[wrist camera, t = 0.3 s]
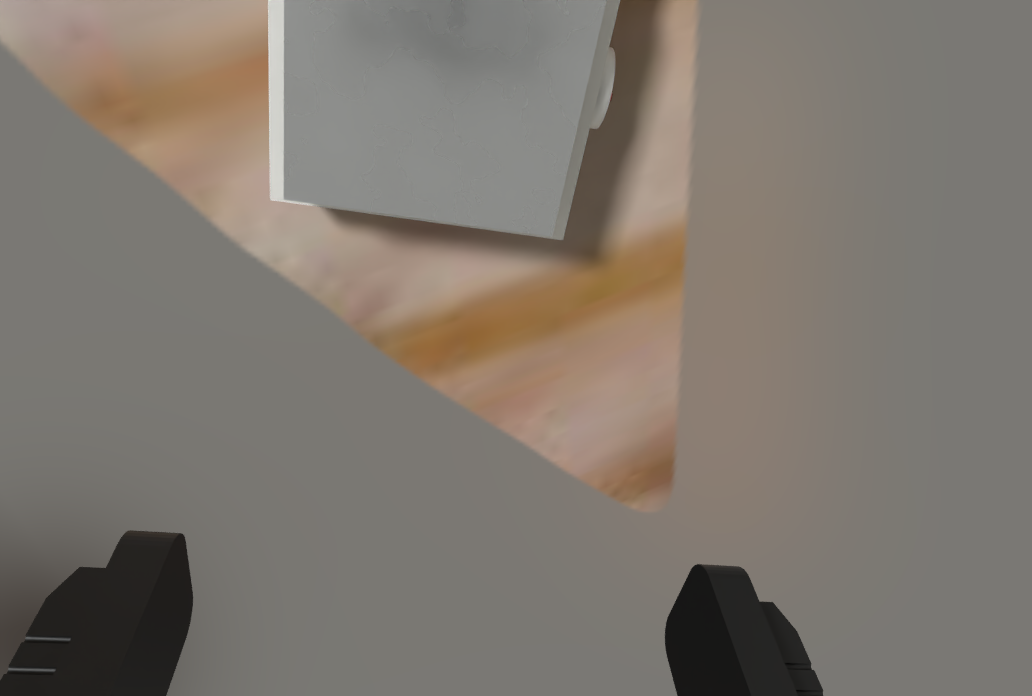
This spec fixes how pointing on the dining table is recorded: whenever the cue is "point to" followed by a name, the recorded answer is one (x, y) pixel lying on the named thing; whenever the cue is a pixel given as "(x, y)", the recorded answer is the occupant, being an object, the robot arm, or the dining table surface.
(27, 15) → the dining table surface
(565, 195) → the white square slab
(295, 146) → the pan
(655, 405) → the dining table surface
